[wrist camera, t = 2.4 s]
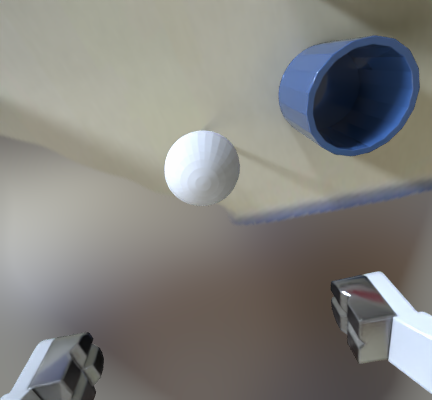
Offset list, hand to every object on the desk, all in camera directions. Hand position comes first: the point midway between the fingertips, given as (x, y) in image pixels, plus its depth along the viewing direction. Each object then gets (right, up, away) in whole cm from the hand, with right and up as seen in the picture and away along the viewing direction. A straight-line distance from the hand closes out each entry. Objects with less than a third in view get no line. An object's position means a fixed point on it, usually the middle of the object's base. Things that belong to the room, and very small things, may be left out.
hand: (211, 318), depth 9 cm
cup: (+12, +16, +22) cm, 30 cm away
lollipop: (-2, +12, +24) cm, 27 cm away
